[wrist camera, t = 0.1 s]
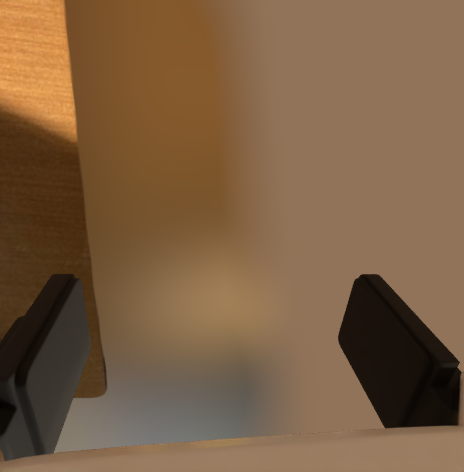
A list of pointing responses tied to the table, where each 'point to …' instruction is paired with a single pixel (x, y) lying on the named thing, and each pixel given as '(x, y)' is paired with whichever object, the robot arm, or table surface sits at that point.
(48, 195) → the table surface
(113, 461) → the robot arm
